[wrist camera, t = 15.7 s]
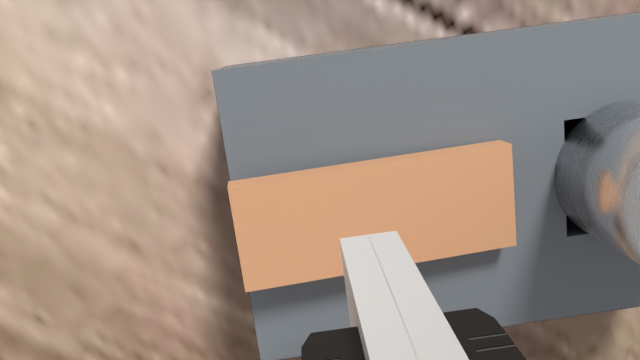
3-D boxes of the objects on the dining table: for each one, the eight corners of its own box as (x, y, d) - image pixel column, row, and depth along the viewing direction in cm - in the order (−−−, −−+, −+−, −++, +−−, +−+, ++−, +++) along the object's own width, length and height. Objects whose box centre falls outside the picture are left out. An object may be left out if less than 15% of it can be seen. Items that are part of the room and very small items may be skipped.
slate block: (642, 11, 27) (740, 1, 21) (640, 245, 30) (727, 293, 24) (227, 65, 26) (211, 70, 20) (265, 299, 29) (260, 362, 23)
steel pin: (610, 82, 27) (842, 107, 16) (610, 192, 29) (825, 287, 17) (497, 97, 27) (651, 133, 16) (503, 207, 28) (648, 314, 17)
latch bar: (499, 139, 22) (511, 143, 21) (504, 237, 23) (516, 245, 22) (228, 181, 21) (227, 187, 20) (245, 281, 22) (245, 292, 21)
